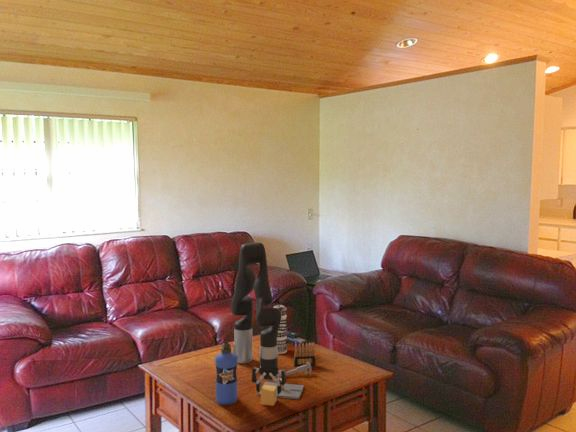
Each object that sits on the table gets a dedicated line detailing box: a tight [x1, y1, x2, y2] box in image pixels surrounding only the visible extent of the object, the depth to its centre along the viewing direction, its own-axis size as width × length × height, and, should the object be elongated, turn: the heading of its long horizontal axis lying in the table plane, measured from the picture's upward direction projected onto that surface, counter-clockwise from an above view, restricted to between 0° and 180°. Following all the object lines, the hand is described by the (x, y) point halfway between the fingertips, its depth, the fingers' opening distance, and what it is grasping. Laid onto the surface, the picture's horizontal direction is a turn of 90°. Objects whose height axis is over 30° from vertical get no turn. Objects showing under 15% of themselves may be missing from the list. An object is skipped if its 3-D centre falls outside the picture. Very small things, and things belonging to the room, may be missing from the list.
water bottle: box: [214, 341, 238, 406], centre depth 211 cm, size 9×9×25 cm
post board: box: [257, 377, 305, 400], centre depth 220 cm, size 18×12×6 cm, turn 78°
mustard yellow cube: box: [260, 384, 278, 406], centre depth 210 cm, size 6×6×6 cm
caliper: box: [277, 362, 313, 379], centre depth 237 cm, size 20×1×6 cm, turn 108°
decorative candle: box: [272, 304, 289, 355], centre depth 269 cm, size 9×9×25 cm
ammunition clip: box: [293, 341, 316, 368], centre depth 249 cm, size 11×2×12 cm, turn 98°
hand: (268, 392), depth 210 cm, fingers open, 8 cm apart
